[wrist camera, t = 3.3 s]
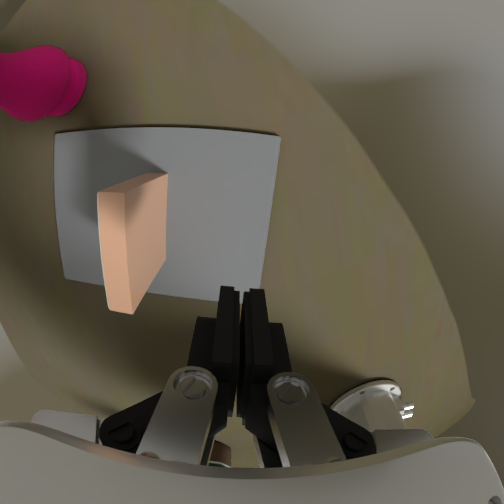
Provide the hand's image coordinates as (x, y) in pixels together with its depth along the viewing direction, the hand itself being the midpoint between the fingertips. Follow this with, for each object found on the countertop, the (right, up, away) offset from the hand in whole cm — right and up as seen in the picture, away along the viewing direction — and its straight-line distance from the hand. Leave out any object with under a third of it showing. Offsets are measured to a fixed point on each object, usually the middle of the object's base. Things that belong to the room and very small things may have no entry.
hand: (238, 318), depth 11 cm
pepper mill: (-18, +19, +8) cm, 28 cm away
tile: (-8, +6, +13) cm, 16 cm away
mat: (-9, +6, +13) cm, 17 cm away
